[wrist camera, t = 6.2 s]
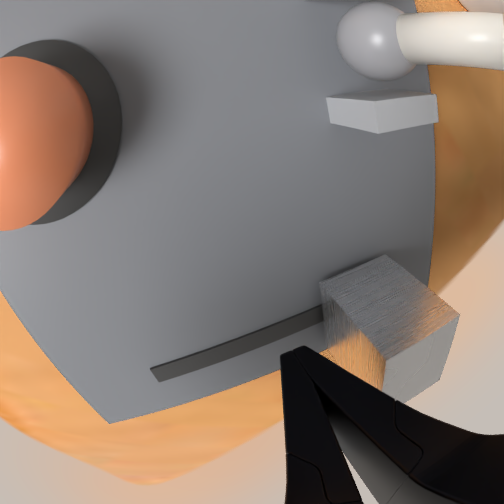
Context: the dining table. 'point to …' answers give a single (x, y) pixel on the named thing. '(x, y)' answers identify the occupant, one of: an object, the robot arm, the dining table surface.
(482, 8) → the mug
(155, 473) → the dining table surface
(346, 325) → the block
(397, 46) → the toggle lever
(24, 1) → the control panel
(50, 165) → the push button
